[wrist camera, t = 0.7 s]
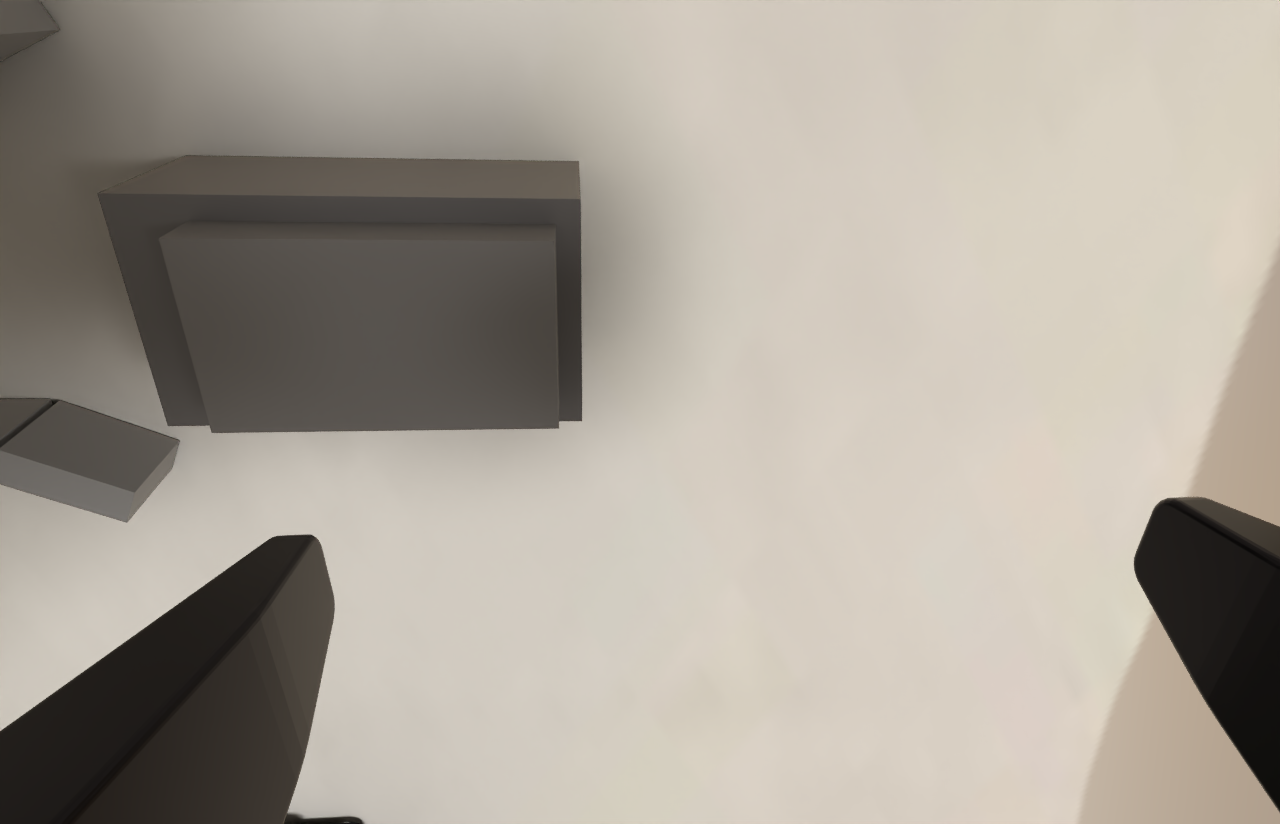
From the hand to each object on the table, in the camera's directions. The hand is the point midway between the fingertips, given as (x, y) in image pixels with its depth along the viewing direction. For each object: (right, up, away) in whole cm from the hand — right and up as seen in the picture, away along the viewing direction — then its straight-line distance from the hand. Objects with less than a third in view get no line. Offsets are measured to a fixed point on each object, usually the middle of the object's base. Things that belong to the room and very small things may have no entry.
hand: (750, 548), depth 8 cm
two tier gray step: (-7, +5, +11) cm, 14 cm away
